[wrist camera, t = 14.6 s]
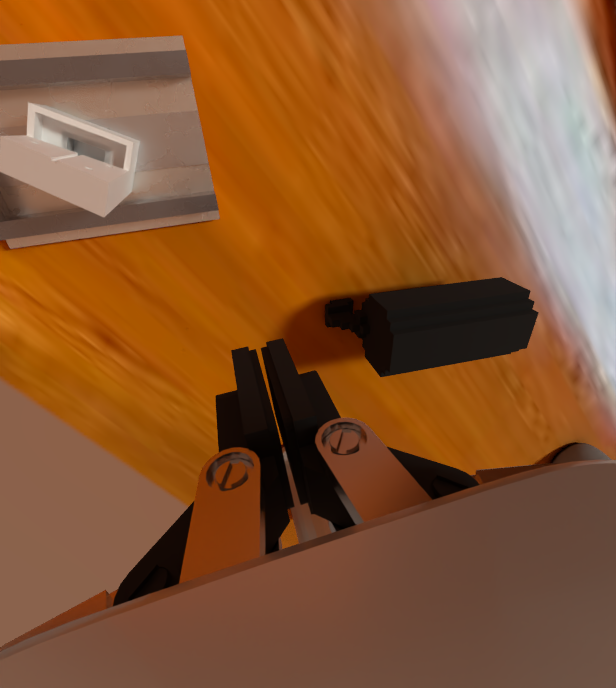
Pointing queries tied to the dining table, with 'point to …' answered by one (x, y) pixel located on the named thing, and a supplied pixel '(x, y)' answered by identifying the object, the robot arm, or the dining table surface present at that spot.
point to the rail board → (114, 114)
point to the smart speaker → (579, 454)
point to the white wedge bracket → (71, 159)
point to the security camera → (438, 324)
